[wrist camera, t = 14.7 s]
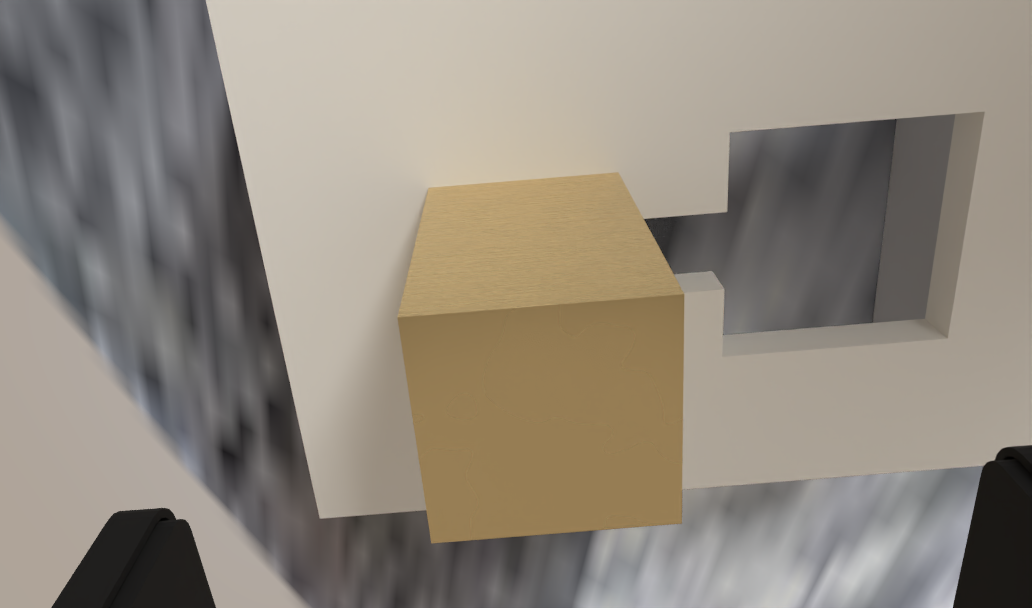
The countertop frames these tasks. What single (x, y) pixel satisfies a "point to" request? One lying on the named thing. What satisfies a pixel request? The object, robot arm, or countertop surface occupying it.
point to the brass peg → (543, 360)
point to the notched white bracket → (647, 207)
